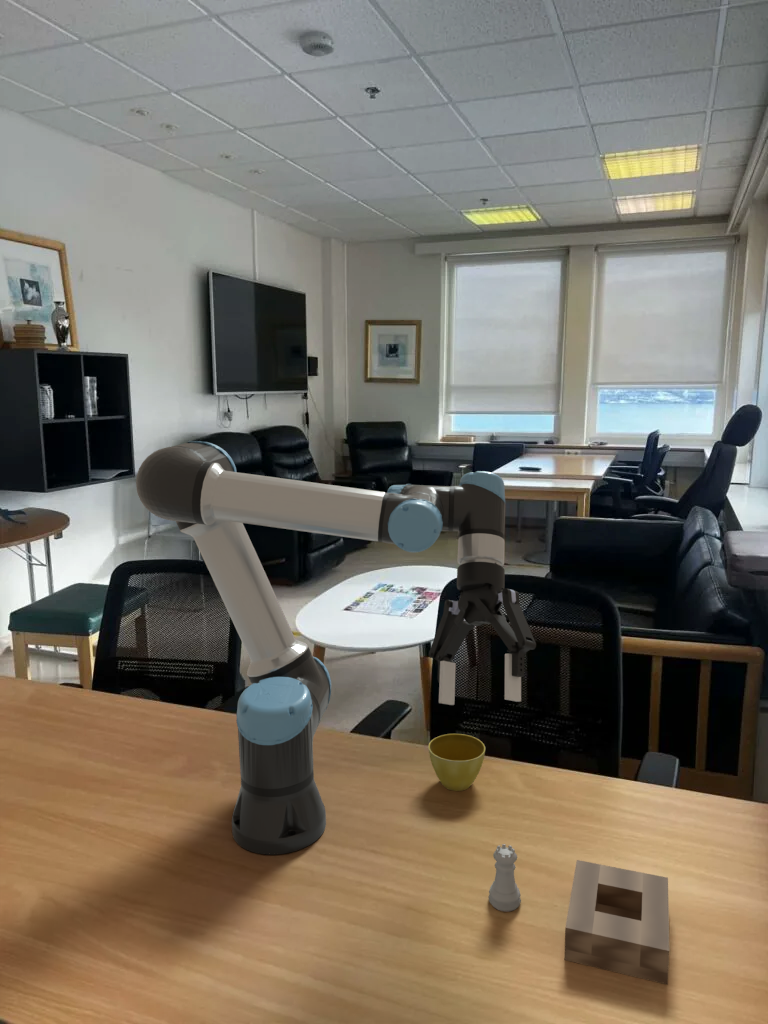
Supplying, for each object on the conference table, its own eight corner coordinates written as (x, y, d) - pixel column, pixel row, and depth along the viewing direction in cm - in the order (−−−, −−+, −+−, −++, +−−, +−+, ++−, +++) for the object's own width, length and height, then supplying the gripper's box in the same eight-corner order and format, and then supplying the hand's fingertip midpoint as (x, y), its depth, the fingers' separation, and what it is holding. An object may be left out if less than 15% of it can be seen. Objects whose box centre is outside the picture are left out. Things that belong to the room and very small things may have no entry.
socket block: (564, 959, 93) (565, 927, 92) (575, 888, 106) (576, 859, 105) (667, 984, 89) (669, 951, 88) (666, 907, 102) (667, 877, 101)
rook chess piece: (520, 915, 101) (521, 861, 99) (487, 911, 101) (487, 857, 100) (521, 893, 105) (522, 841, 104) (489, 889, 106) (489, 838, 104)
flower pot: (483, 801, 128) (484, 762, 127) (425, 796, 130) (425, 758, 129) (486, 771, 138) (486, 735, 137) (431, 767, 140) (431, 731, 138)
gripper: (558, 557, 112) (561, 701, 105) (443, 583, 131) (438, 707, 124) (526, 545, 108) (526, 695, 101) (411, 574, 126) (404, 702, 119)
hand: (478, 702), depth 112 cm, fingers open, 13 cm apart
